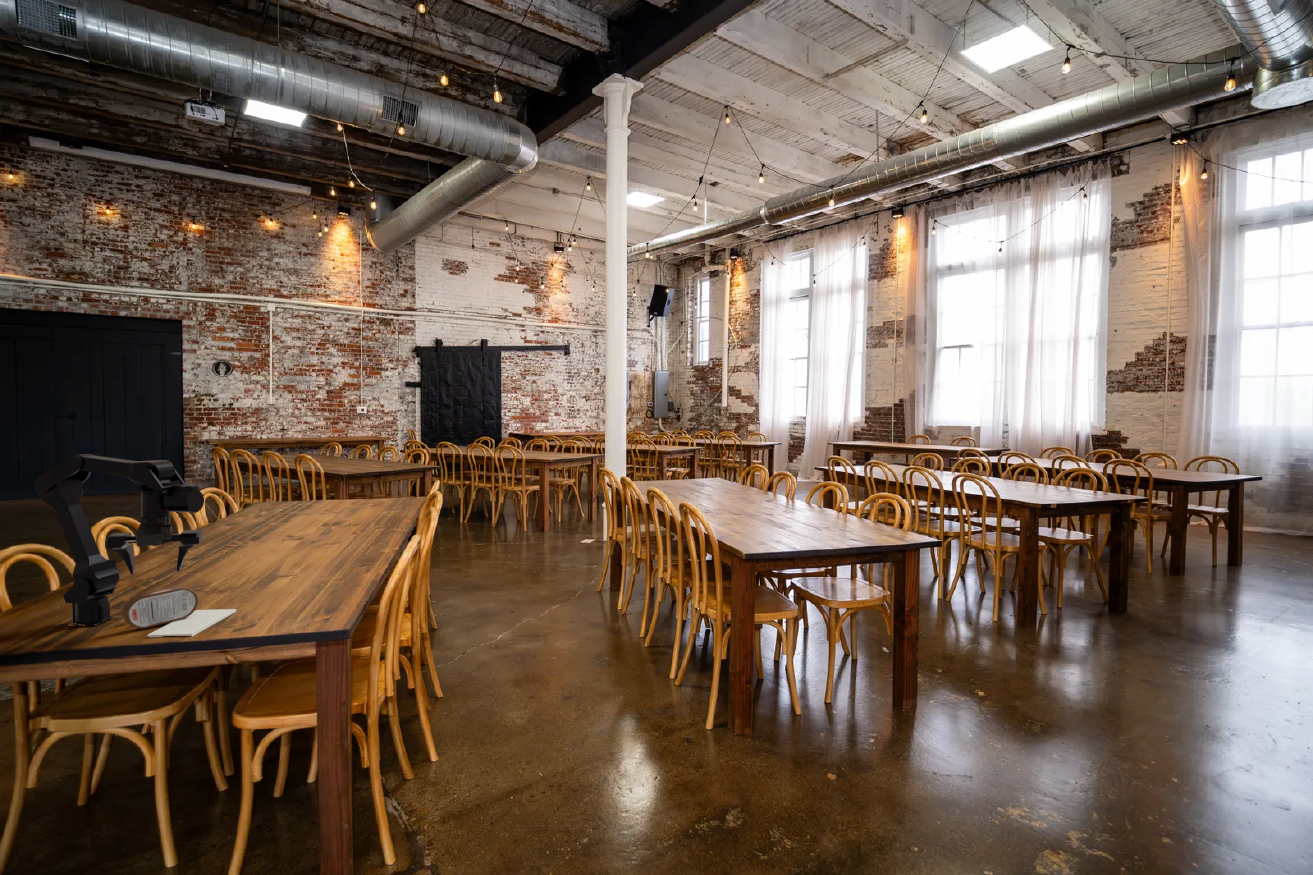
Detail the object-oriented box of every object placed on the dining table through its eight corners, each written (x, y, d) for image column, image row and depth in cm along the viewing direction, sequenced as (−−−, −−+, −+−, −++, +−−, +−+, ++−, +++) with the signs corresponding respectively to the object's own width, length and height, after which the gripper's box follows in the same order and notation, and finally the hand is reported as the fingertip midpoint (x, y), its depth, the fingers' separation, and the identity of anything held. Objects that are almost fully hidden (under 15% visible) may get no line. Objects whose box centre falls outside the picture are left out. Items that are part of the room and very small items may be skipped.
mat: (147, 637, 153) (147, 635, 153) (196, 612, 172) (196, 610, 172) (192, 636, 154) (191, 634, 154) (236, 611, 173) (236, 609, 173)
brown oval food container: (197, 613, 168) (194, 581, 168) (201, 615, 166) (197, 583, 166) (124, 631, 157) (120, 597, 156) (127, 633, 155) (123, 599, 154)
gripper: (97, 518, 150) (97, 584, 150) (195, 515, 158) (194, 578, 159) (112, 510, 160) (112, 572, 160) (203, 507, 168) (203, 567, 169)
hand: (155, 572), depth 162 cm, fingers open, 9 cm apart
